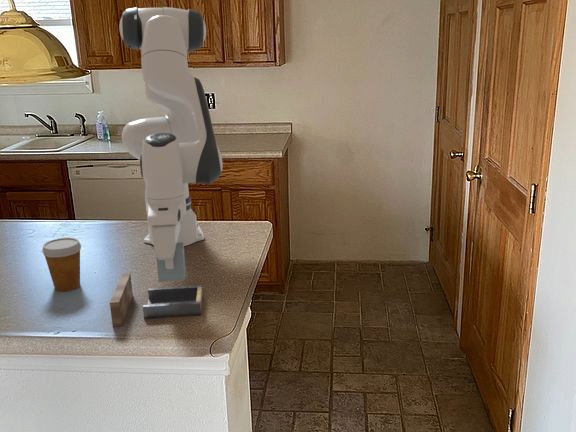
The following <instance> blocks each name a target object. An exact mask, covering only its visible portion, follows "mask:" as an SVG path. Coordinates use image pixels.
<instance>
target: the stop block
mask: <svg viewBox="0 0 576 432" xmlns="http://www.w3.org/2000/svg"><path fill="white" fill-rule="evenodd" d="M155 258H156V266H157V267H156V270H157V276H158V277H157V278H158V279H157V280H158V283H163V282H178V281H179V282H182V281H183V282H184V281H185V280H186V275H187V269H186V257H185V246H184V243H183V242H178V243H177V245H176V250H175V254H174V258H173V259H174V268H173V269H166V265H165V260H158V259H157V257H156V256H155Z"/></svg>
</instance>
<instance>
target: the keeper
mask: <svg viewBox="0 0 576 432" xmlns="http://www.w3.org/2000/svg"><path fill="white" fill-rule="evenodd" d="M147 295H148V296H147V297H148V301H147V304H143V305H142V310H143V311H142V312H143V319H148V320H149V319H162V318H163V319H164V318H178V317H192V316H193V317H195V316H201V315H202V308H203V297H204V296H203V285H188V286H187V285H186V286H185V285H183V286H169V287H168V286H167V287H156V288H155V287H152V288H151V287H150V288H149V287H148V289H147Z"/></svg>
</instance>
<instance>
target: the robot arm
mask: <svg viewBox="0 0 576 432" xmlns="http://www.w3.org/2000/svg"><path fill="white" fill-rule="evenodd" d="M118 26H119V27H118V29H119V34H120V37H121V39H122V41H123V44H124V45H125V46H126V47H127V48H129V49H132V50H135V51H141V54H140V55H141V57H140V60H141V62H140V63H141V64H140V65H141V74H142V79H143V82H144V93H145V95H146V98H147V100H148V101H149V102H150V103H152V104H154V105H155V106H157V107H159V108H162V109H164V112H165V113H164V114H165V115H164V116H157V117H147V118H145V117H144V118H140V119H135V120H132V121H130V122H127V123H126V124H125V125H124V127H123V130H122V131H121V142H122V145H123V147H124V149H125V150H126V151H127V153H129V154H130V155H131V156H133V157H134V158H136V159H137V160H139V167H140V175H141V178H143V180H144V182H145V183H144V184H145V190H144V191H145V192H144V198H145V199H144V200H145V208H146V209H145V210H146V219H147V220H146V221H147V225H148V233H147V235H146V236H145V237H144V239H143V242H144V243H146V244H150V245H153V248H154V253H155V258H156V257H157V259H158V260H165V265H166V269H173V268H174V259H173V258H174V254H175V250H176V245H177V243H178V242H183V243H184V247H187V246H189V245H192V244H194V243H197V242H200V241H203V240H205V235H204V233H203V230H202V229H201V227H200V225H199V223H198V221H197V214H196V213H195V211H193V209H192V199H191V196H190V194H189V193H190V191H189V184H201V185H202V184H203V185H211V184H213V183H214V182H216V181H217V180H218V179H219V177H220V176H221V175H222V171H223V166H224V164H223V157H222V154H221V151H220V150H221V149H219V146H218V144H217V141H216V137H215V130H214V126H213V123H212V118H211V114H210V109H209V106H208V105H209V103H208V101H207V99H206V94H205V90H204V86H203V84H202V81H200V79H199V78H197V77H195V76H194V75H193V74H192V72H191V71H190V68H189V65H188V54H191V52H194V51H198V50H200V49H201V48H202V47H203V46H204V42H205V40H206V36H207V25H206V22H205V20H204V17H203V15H202V13H200V12H199V11H197V10H193V9H191V8H188V9H183V8H177V7H176V8H175V7H170V6H169V7H167V6H162V7H142V8H138V7H131V8H126V9H125V10H124V11H123V12H122V15H121V17H120V20H119V24H118ZM157 259H156V260H157Z"/></svg>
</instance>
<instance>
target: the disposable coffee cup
mask: <svg viewBox="0 0 576 432" xmlns="http://www.w3.org/2000/svg"><path fill="white" fill-rule="evenodd" d="M81 249H82V243H80V241H79V239H77V238H75V237H60V238H54V239H51V240H49V241H46V242H44V244H43V245H42V249H41V253H42V254H43V256H44V258H45V261H46V264H47V268H48V270H49V271H48V272H49V276H50V277H51V281H52V285H53V287H54V290H55V291H58V292H68V291H69V292H70V291H73V290H77V288H79V287H80V285H81Z"/></svg>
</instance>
